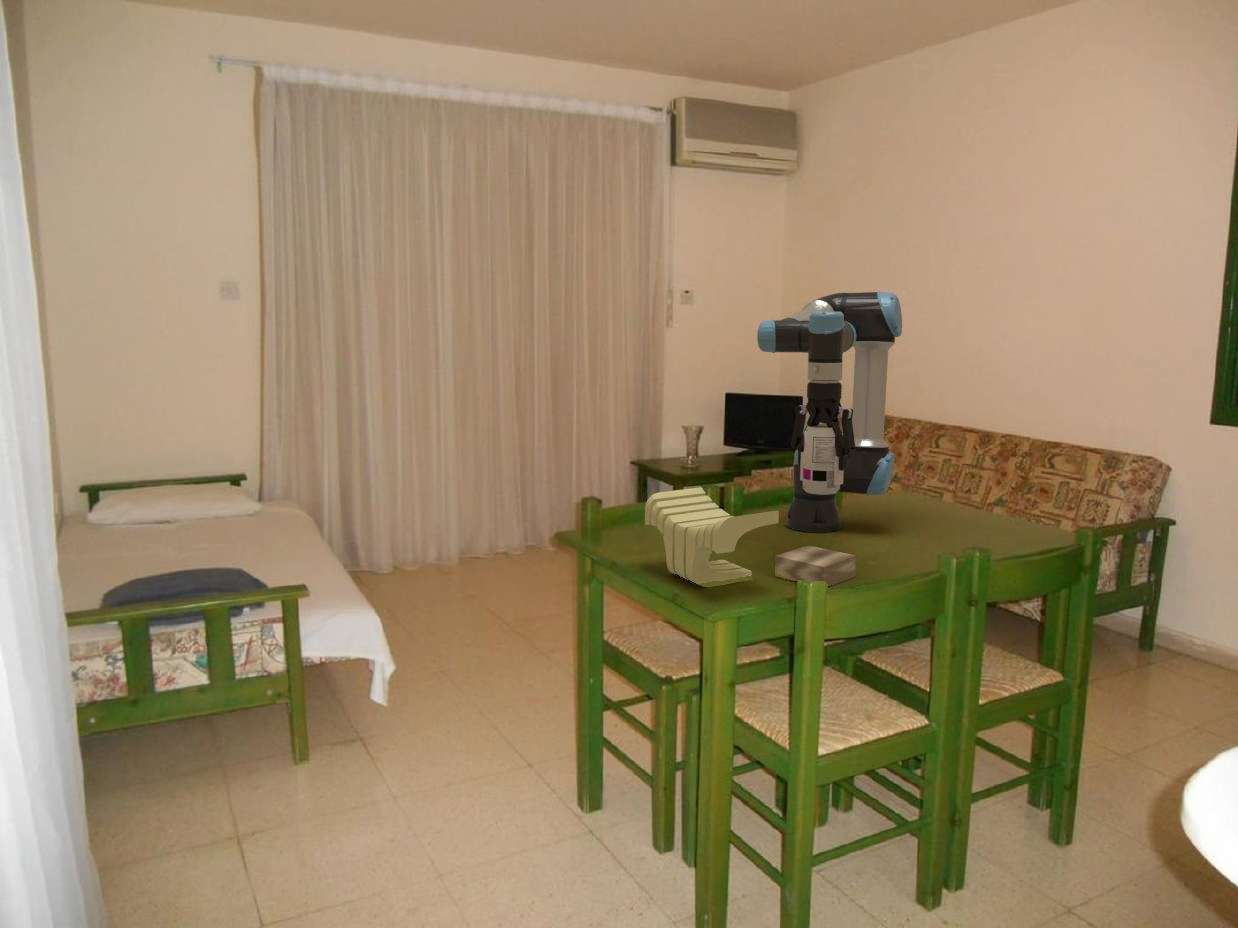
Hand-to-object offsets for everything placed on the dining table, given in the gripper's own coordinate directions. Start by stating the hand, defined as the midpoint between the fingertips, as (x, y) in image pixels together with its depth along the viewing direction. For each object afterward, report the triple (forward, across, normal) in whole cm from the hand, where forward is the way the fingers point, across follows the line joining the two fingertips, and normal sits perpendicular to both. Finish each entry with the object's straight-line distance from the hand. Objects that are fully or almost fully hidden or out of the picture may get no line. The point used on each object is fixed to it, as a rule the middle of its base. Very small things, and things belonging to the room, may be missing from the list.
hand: (821, 481), depth 208 cm
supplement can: (+2, 0, 0) cm, 2 cm away
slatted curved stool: (+22, -17, -19) cm, 34 cm away
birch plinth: (+22, 0, -1) cm, 22 cm away
